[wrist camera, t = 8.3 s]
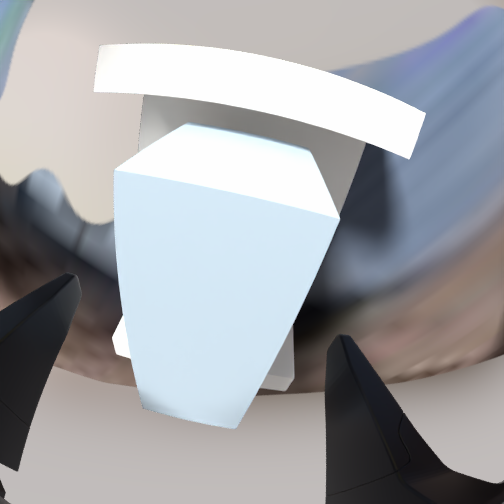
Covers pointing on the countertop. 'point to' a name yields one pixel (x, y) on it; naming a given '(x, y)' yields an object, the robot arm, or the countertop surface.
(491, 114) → the countertop surface
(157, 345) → the pale blue block
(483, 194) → the countertop surface
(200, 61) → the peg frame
